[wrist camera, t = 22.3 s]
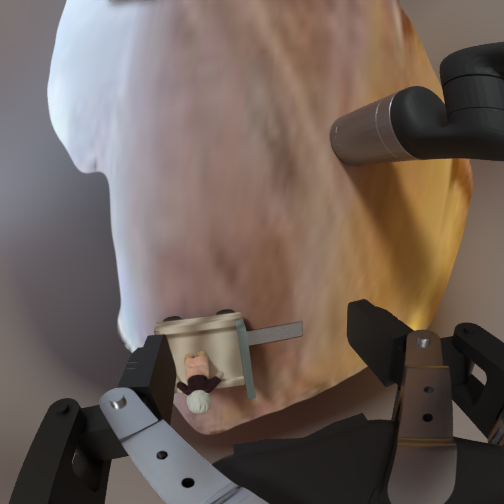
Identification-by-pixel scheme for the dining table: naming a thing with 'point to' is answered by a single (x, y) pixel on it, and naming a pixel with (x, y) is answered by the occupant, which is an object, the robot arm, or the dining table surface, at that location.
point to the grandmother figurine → (198, 382)
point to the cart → (212, 346)
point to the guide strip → (274, 333)
